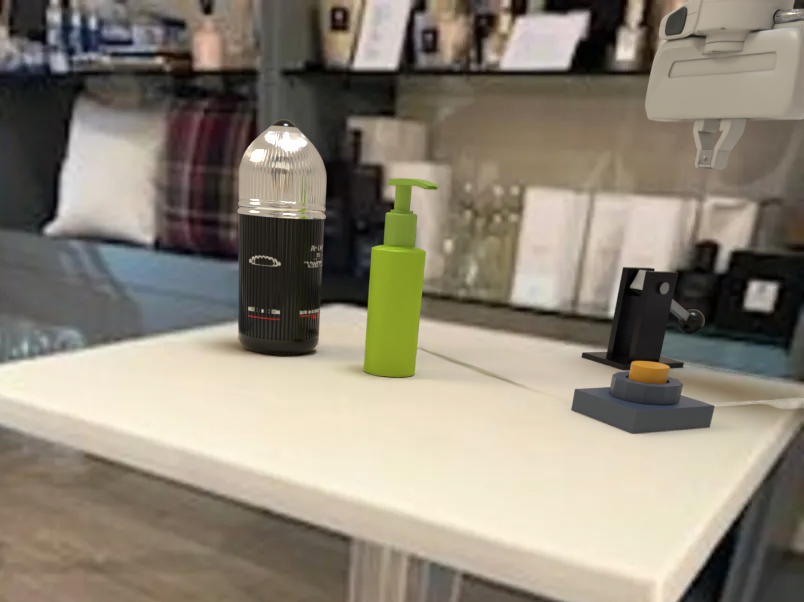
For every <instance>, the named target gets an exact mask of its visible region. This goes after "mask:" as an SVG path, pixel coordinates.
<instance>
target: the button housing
mask: <svg viewBox="0 0 804 602" xmlns="http://www.w3.org/2000/svg"><path fill="white" fill-rule="evenodd" d="M629 372H630V371H617V372H615V373H612V375H611V382H610V386H608V387H607V386H603V387H602V386H601V387H586V388H585V387H583V388H574V392H573V397H572V403H571V409H570V410H571V411H573V412H576V413H578V414H581V415H583V416H585V417H588V418H591V419H593V420H596V421H598V422H601V423H603V424H607V425H608V426H611V427H614V428H616V429H619V430H622V431H623V432H627V433H629V434H633V435H635V434H647V433H658V432H670V431H672V432H673V431H681V430H694V429H695V430H696V429H706V428H711V424H712V419H713V416H714V413H715V412H714V411H715V408H716V405H715V404H711V403H708V402H704V401H701V400H698V399H695V398H692V397H689V396H685V395H683V394H682V391H683V386H684V382H682V381H681V380H680V379H678V378H675V377H672V376H669V375H668V378H667V382H666V383H665V384H655V383H645V382H639V381H635V380H631V379H628V377H629Z"/></svg>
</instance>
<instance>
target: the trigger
mask: <svg viewBox="0 0 804 602" xmlns="http://www.w3.org/2000/svg"><path fill="white" fill-rule="evenodd" d="M645 273H646V271H645V270H639V272H638V274H637V275H636V277H635V279H634V281H633V282H632V284H631V286H630V288H631V289H632V290H633V291H634V292H636V293H637V294H638V295H639V296H641V293H642V288H643V283H644V278H645ZM670 313H672V314H673V315H674V316H675V317H676V318H677V319H678V323H677V324H678V325H677V326H678V328H679V330H680V331H681V333H683V335H687V336H688V335H689V336H693V335H696V334H698V333H699V332H701V331H702V330H703V328H704V325H705V323H706V321H705V320H706V319H705V315H704V314H703V313H702V312H701V311H700V310H698V309H696V308H691V309H690V308H689V309H688V310H686V309H685V308H684V307H682V305H681V304H679V303H678V302H677V301H676V300H675V299H674V298H673V299H672V304H671V309H670Z"/></svg>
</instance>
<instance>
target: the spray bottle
mask: <svg viewBox="0 0 804 602" xmlns="http://www.w3.org/2000/svg"><path fill="white" fill-rule="evenodd" d="M327 177H328V176H327V170H326V166H325V163H324V161H323V159H322V156H321V155H320V153H319V151H318V149H317V148H316V147H315V145H314V144H313V143H312V142H311V141H310V140H309V138H308V137H307V136H306V135H305V134H304V133H303V132H302V131H301V130H300V129H299V128H298V127H297V126H296V124H295V123H294V122H292V121H291V120H289V119H285V118H281V119H278V120H275V121H274V122H273V123H272V124H271V125H270V126H269V127H268V128H267V129H266V130H264V131H263V132H261V133H260V134H259V135H258V136H257V137H256V138H255V139H254V140H253V141H252V142H251V143H250V145H249V146H248V147H247V148H246V150H245V151H244V153H243V155H242V158H241V160H240V164H239V167H238V198H237V199H238V200H237V205H238V208H237V210H236V211H237V214H238V287H237V288H238V291H237V293H238V294H237V295H238V297H237V304H238V306H237V307H238V309H237V324H238V325H237V337H238V338H237V339H238V341H239V343H240V344H241V345H242V346H243V347H244V348H245V349H248V350H250V351H252V352H256V353H261V354H267V355H268V354H269V355H291V356H292V355H303V354H307V353H310V352H312V351H314V350H315V349H316V348H317V347H318V344H319V341H320V325H321V324H320V322H321V321H320V320H321V300H322V279H323V278H322V277H323V256H324V255H323V254H324V233H325V219H326V218H327V214H326V213H325V212H326V210H327V208H326V204H327V203H326V201H327V200H326V199H327Z"/></svg>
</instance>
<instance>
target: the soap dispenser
mask: <svg viewBox="0 0 804 602" xmlns="http://www.w3.org/2000/svg"><path fill="white" fill-rule="evenodd" d="M387 182H388V184H387V186H395V193H394V204H393V209H390V210H389V211H388V212H387V211H386V212H385V220H384V234H383V244H379V245H375V246H372V247H371V253H370V268H369V282H368V298H367V310H366V312H367V313H366V314H367V315H366V326H365V327H366V329H365V341H364V342H365V343H364V357H363V358H364V360H363V372H365V373H367V374H369V375H374V376H379V377H388V378H407V377H412V376H414V375H415V374H416V364H417V353H418V352H417V351H418V342H419V332H420V320H421V311H422V310H421V309H422V299H423V289H424V288H423V287H424V279H425V278H424V277H425V266H426V256H427V251H426V250H424V249H423V248H420V247H416V236H417V224H418V214H416V213H414V210H411V202H412V192H413V191H412V190H413V187H417V188H420V189H423V190H430V191H431V190H432V191H437V190H438V189H439V188H440V185H439V184H437V183H434V182H432V181H430V180H427V179H422V178H407V177H406V178H405V177H404V178H403V177H401V178H400V177H399V178H389V179H388V181H387Z"/></svg>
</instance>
